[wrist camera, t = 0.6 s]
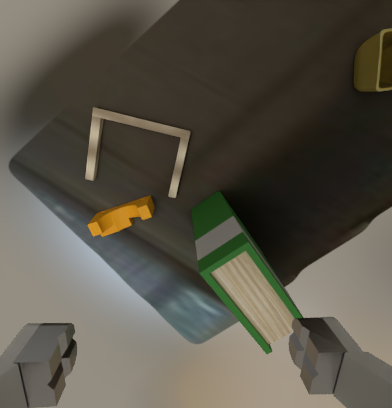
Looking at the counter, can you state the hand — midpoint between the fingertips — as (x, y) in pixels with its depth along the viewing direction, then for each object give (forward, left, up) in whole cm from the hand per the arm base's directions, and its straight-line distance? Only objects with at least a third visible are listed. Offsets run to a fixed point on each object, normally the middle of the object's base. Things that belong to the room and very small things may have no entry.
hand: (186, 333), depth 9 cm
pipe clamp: (+14, -8, -45) cm, 48 cm away
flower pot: (-25, +31, -45) cm, 60 cm away
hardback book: (+13, +14, -45) cm, 49 cm away
